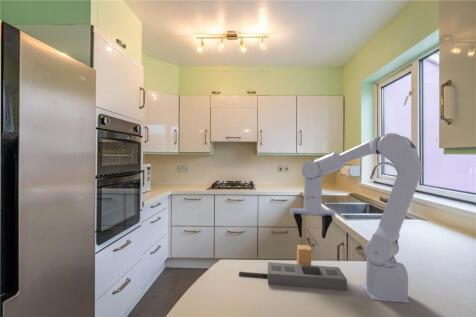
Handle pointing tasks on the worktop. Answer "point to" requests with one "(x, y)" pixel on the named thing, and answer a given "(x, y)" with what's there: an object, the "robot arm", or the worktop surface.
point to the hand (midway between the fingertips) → (311, 236)
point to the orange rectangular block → (303, 255)
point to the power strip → (303, 276)
